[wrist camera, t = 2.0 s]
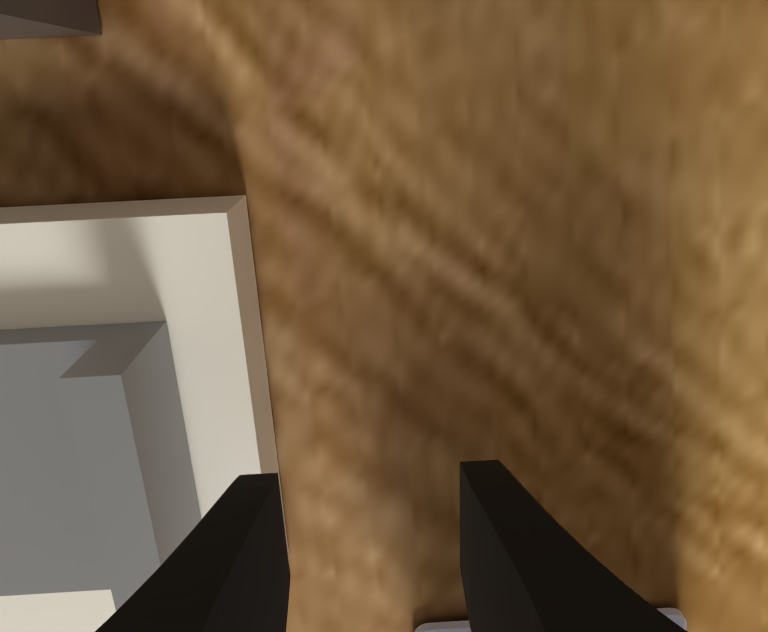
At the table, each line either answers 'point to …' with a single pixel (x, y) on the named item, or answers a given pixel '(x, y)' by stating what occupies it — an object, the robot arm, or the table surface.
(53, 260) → the socket plate
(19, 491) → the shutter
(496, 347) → the table surface
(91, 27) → the plug
